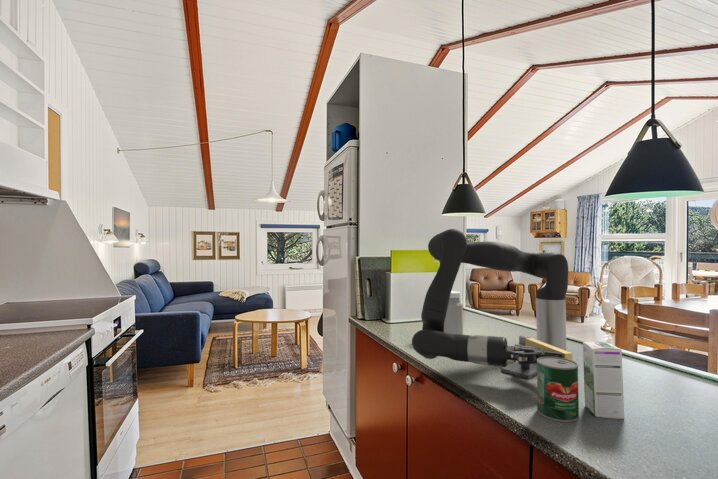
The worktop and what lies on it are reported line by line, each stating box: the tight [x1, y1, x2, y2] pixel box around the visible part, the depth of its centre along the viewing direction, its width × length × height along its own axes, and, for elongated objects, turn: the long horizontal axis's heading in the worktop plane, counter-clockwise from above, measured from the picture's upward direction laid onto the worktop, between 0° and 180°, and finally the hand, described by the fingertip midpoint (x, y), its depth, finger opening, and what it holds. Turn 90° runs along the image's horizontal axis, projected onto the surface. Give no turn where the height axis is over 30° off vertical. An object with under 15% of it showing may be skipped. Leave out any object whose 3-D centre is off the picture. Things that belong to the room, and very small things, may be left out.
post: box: [500, 362, 537, 380], centre depth 106 cm, size 10×8×7 cm
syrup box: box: [582, 341, 625, 420], centre depth 80 cm, size 6×6×14 cm
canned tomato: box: [536, 357, 580, 423], centre depth 79 cm, size 8×8×11 cm
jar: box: [444, 290, 464, 335], centre depth 146 cm, size 10×10×18 cm
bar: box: [518, 335, 573, 361], centre depth 99 cm, size 18×3×2 cm, turn 11°
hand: (561, 357), depth 90 cm, fingers closed
